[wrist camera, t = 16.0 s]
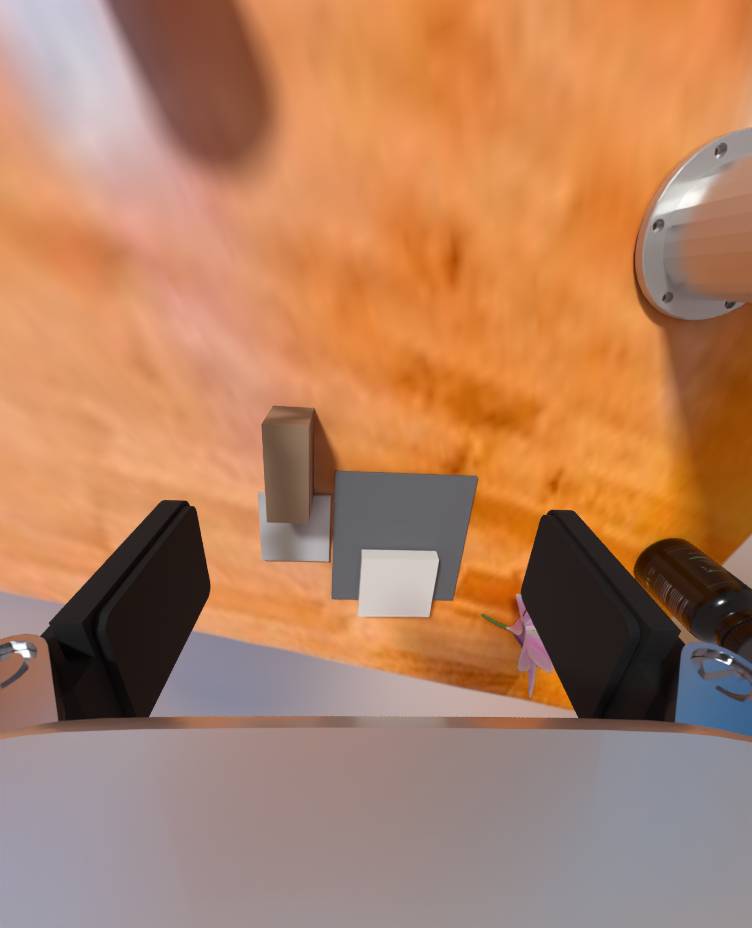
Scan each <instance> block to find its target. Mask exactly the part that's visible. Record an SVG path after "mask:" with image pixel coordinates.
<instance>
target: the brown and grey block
mask: <svg viewBox="0 0 752 928" xmlns="http://www.w3.org/2000/svg"><path fill="white" fill-rule="evenodd" d="M262 442H263V460H264V479H265V492H259V493H258V503H259V518H260V534H261V550H262V560H272V561H326V562H329V542H330V507H331V494H314V408H303V407H285V406H273V407H272V409H271V410H270V412H269V413H268V415H267V416H266V418H265V420H264V421H263V423H262Z"/></svg>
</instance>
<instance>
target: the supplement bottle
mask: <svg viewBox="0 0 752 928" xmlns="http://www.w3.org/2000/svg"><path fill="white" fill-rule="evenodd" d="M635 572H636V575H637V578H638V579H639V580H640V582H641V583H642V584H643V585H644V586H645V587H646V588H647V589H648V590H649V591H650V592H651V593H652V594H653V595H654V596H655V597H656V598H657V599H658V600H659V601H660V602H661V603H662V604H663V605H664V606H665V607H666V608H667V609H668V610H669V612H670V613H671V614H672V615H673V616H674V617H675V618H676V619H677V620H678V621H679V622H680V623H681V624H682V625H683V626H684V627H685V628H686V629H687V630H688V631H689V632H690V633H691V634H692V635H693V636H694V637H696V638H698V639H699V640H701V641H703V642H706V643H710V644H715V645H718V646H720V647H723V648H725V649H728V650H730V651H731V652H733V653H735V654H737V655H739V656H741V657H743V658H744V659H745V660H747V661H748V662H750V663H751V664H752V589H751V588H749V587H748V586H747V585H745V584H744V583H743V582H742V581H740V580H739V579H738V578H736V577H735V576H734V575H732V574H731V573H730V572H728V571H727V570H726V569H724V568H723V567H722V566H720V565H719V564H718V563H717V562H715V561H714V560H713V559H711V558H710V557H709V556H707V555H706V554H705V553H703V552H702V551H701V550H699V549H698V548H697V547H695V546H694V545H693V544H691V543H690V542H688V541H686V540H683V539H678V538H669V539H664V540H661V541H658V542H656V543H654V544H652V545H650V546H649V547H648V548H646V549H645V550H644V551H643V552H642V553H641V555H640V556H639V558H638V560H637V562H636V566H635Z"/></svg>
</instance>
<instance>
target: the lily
mask: <svg viewBox="0 0 752 928" xmlns="http://www.w3.org/2000/svg"><path fill="white" fill-rule="evenodd" d="M516 598H517V602H518V607H519V611H520V616H521V617H520V618H519V619H518V620H517V621H516V622H515V624H514V625H513V626H511V627H508V626H505V625H502V624H500V623H498V622H496V621H494V620H492V619H491V618H489V617H487V616H486V615H484V614H482V616H483V617H484V618H486V619H487V620H489V621H491V622H492V623H494V624H496V625H498V626H500V627H502V628H505V629H507V630H510V631H511V632H512V633H513V634H514V636H515V638H516V639H517V641H518V642H519V644H520V646H521V648H522V652H521V655H520V658H519V662H518V667H517V668H518V670H519V671H527V670H528V679H529V699H530V698H531V695H532V692H533V687H534V682H535V676H536V665H538V666H539V667H540V668H541V669H543V670H545V671H547V672H548V673H552V669H553V664H552V662H551V660H550V658H549V656H548V654H547V652H546V650H545V647H544V645H543V643H542V641H541V639H540V637H539V635H538V633H537V631H536V629H535V627H534V625H533V623H532V620H531V618H530V616H529V614H528V612H526V613H525V615H524V616H523V614H524V612H525V611H526V608H525V606H524V604H523V601H522V598H521V595H520V594H516ZM522 616H523V617H522Z"/></svg>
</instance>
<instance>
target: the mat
mask: <svg viewBox="0 0 752 928" xmlns="http://www.w3.org/2000/svg"><path fill="white" fill-rule="evenodd" d="M477 480H478V477H477V476H463V475H437V474H411V473H384V472H358V471H335V502H334V535H333V567H332V599H358V595H359V580H360V566H361V551H362V549H364V550H412V551H436V552H437V555H438V558H439V563H438V569H437V575H436V580H435V586H434V592H433V597H432V600H453V596H454V591H455V586H456V582H457V577H458V572H459V567H460V562H461V557H462V552H463V548H464V543H465V538H466V533H467V528H468V523H469V519H470V514H471V509H472V504H473V499H474V494H475V489H476V485H477Z"/></svg>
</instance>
